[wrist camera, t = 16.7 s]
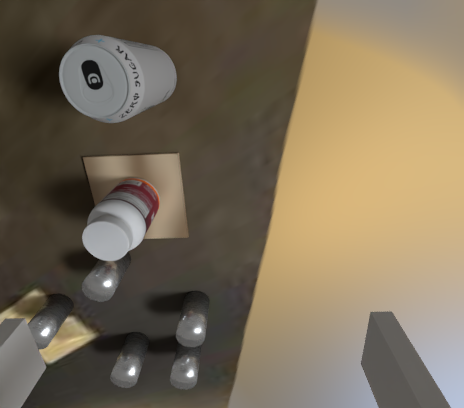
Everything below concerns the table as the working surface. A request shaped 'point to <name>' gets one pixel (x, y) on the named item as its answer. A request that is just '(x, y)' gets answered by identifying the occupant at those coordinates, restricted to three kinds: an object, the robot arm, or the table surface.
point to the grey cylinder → (185, 366)
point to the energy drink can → (115, 77)
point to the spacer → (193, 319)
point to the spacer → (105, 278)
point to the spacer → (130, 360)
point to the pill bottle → (121, 219)
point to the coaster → (155, 172)
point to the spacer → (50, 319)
